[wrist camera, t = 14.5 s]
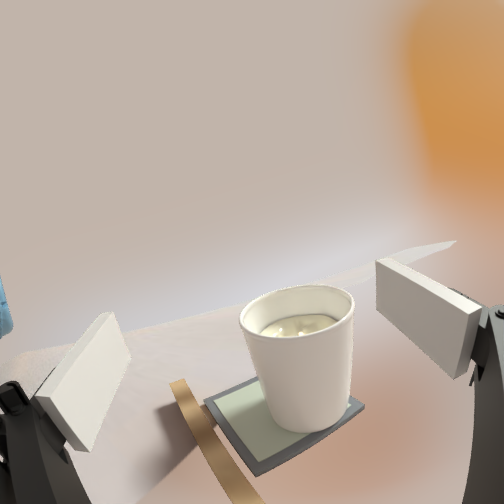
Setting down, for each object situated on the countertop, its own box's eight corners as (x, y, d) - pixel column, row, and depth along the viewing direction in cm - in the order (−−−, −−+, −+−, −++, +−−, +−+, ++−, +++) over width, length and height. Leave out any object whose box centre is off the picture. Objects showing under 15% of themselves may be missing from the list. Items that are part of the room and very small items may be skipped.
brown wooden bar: (177, 401, 31) (169, 383, 30) (191, 395, 32) (184, 378, 31) (249, 526, 13) (240, 515, 13) (271, 515, 14) (265, 503, 13)
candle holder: (356, 374, 29) (352, 279, 26) (353, 440, 20) (356, 334, 17) (275, 376, 32) (257, 287, 29) (251, 436, 23) (220, 338, 20)
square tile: (204, 403, 30) (202, 399, 30) (294, 362, 35) (293, 357, 35) (255, 477, 18) (253, 473, 18) (364, 408, 24) (364, 403, 24)
